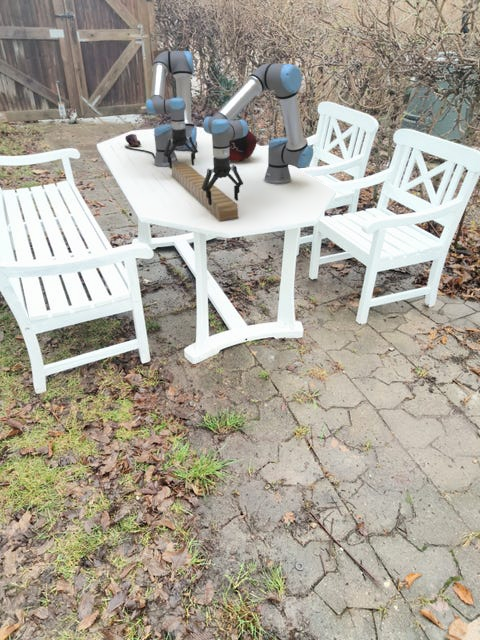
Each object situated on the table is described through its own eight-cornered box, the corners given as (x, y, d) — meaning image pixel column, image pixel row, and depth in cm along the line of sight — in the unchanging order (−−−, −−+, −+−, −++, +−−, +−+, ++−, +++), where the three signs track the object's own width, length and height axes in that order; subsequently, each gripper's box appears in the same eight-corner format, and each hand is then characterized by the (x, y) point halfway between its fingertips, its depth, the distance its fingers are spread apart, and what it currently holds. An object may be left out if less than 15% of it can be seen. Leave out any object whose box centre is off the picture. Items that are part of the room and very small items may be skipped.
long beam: (172, 175, 273) (171, 164, 269) (186, 173, 276) (185, 162, 272) (220, 221, 213) (219, 207, 209) (237, 218, 216) (237, 204, 212)
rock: (137, 145, 340) (124, 146, 336) (136, 133, 337) (122, 134, 332) (142, 146, 331) (129, 147, 327) (140, 133, 327) (127, 134, 323)
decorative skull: (217, 132, 305) (217, 129, 281) (251, 125, 304) (254, 121, 280) (224, 165, 312) (224, 164, 288) (257, 157, 311) (260, 156, 287)
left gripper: (159, 132, 247) (163, 171, 259) (201, 127, 255) (203, 165, 267) (155, 129, 252) (159, 167, 265) (197, 125, 260) (199, 162, 273)
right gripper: (198, 162, 197) (201, 208, 209) (249, 155, 205) (250, 200, 217) (192, 158, 203) (196, 203, 215) (243, 151, 211) (243, 195, 223)
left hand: (181, 166), depth 266 cm, fingers open, 13 cm apart
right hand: (223, 202), depth 216 cm, fingers open, 13 cm apart
